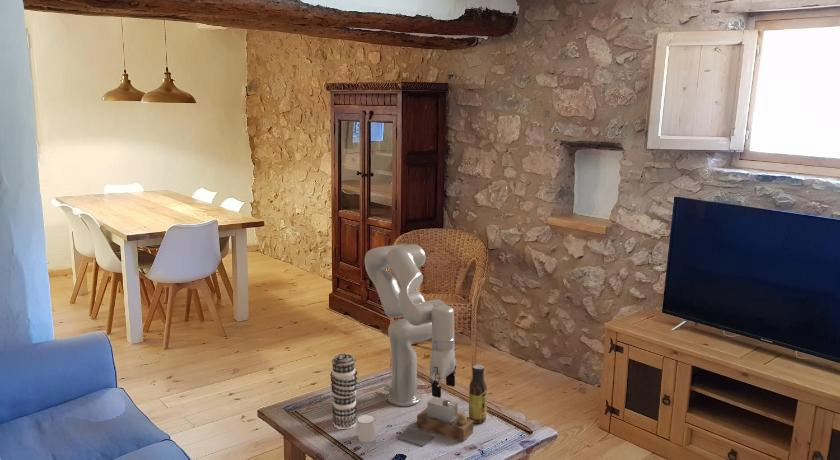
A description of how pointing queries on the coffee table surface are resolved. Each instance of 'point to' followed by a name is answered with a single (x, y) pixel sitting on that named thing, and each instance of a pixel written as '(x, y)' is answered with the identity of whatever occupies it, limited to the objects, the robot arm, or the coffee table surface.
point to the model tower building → (344, 391)
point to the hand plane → (447, 425)
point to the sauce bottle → (478, 396)
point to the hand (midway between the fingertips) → (443, 391)
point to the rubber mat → (415, 437)
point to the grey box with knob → (442, 409)
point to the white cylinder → (366, 427)
